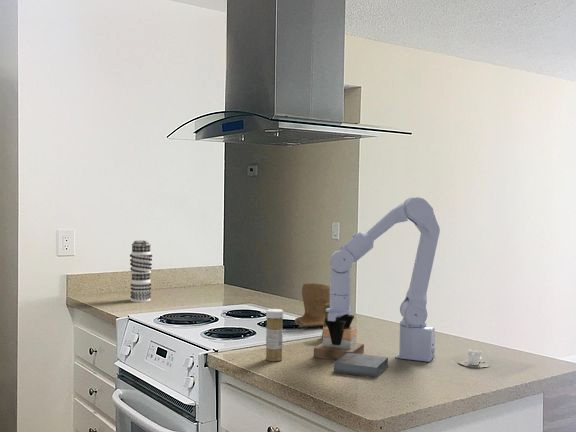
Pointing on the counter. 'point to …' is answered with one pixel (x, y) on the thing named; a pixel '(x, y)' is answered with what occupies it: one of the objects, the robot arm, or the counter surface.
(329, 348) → the stand
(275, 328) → the sprinkles bottle
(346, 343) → the block
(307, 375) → the counter surface
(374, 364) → the stand
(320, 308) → the tan boot
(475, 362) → the teacup and saucer
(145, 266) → the decorative candle
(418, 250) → the robot arm
